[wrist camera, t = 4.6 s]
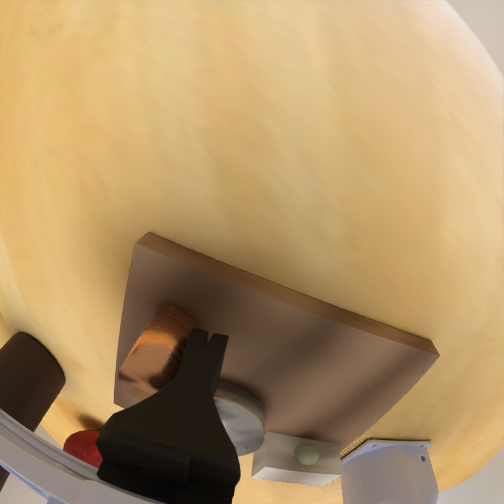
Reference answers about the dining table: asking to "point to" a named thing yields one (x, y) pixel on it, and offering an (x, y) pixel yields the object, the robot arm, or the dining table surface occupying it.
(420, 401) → the dining table surface
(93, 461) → the onion
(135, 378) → the grey and brown piece
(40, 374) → the bottle
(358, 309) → the dining table surface
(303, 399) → the stand
